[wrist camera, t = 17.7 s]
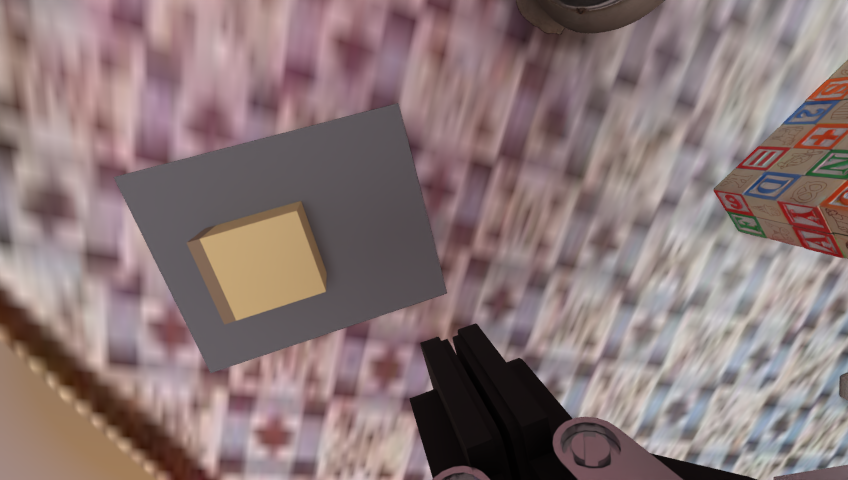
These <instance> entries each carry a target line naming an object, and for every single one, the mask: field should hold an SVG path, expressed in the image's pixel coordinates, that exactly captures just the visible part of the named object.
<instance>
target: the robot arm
mask: <svg viewBox="0 0 848 480" xmlns="http://www.w3.org/2000/svg"><path fill="white" fill-rule="evenodd" d="M453 343H454V346H455V350H456V353H455V351H454V350H453V348H452V346H451V344H450V342H449V341H448V339H446V340H443V341H441V340H440V338H439V337H436V338H433V339H430V340H427V341H424V342H421V343H420V344H421V348H422V352H423V355H424V358H425V362H426V365H427V369H428V372H429V375H430V379H431V382H432V386H433V389H434V390H431V391H429V392H426V393H423V394H421V395H418V396H415V397H413V398H410V402H411V406H412V409H413V413H414V416H415V419H416V423H417V426H418V429H419V433H420V436H421V440H422V443H423V446H424V450H425V453H426V457H427V460H428V463H429V467H430V470H431V473H432V477H433V480H757V479H754V478H751V477H747V476H743V475H739V474H735V473H731V472H726V471H722V470H718V469H714V468H710V467H705V466H701V465H697V464H693V463H688V462H684V461H680V460H676V459H672V458H667V457H663V456H659V455H655V454H651V453H649V452H648V451H646V450H645V449H644V448H643V447H641V446H640V445H639V444H638V443H636V442H635V441H634V440H633V439H631V438H630V437H629V436H627V435H626V434H625V433H624V432H622V431H621V430H620V429H619V428H617V427H616V426H614V425H613V424H611V423H609V422H608V421H605V420H602V419H599V418H593V417H579V418H574V419H572V418H571V416H570V415H569V414H568V413H567V412H566V410H565V409H564V408H563V407H562V406H561V405H560V403H559V402H558V401H557V400H556V399H555V397H554V396H553V395H552V394H551V393H550V392H549V390H548V389H547V388H546V387H545V386H544V384H543V383H542V382H541V381H540V380H539V379H538V377H537V376H536V375H535V374H534V373H533V371H532V370H531V369H530V368H529V367H528V365H527V364H526V363H525V362H524V361H523V360H522V359H520V358H518V359H515V360H512V361H510V362H507V363H506V361H505V360H504V359H503V358H502V356H501V355H500V354H499V352H498V351H497V350H496V348H495V347H494V346H493V344H492V343H491V342H490V340H489V339H488V338H487V337H486V335H485V334H484V333H483V331H482V330H481V329H480V327H479V326H478V325H477V324H473V325H470V326H467V327H464V328H461V329H458V335H457V336H454V337H453ZM456 354H457V355H456ZM774 480H848V465H843V466H837V467H831V468H825V469H819V470H813V471H807V472H801V473H795V474H789V475H783V476H777V477H774Z"/></svg>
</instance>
